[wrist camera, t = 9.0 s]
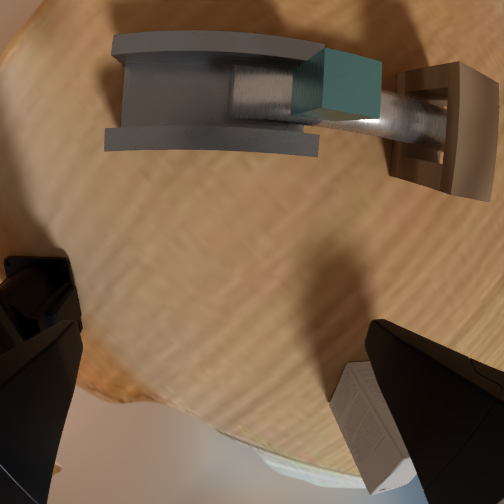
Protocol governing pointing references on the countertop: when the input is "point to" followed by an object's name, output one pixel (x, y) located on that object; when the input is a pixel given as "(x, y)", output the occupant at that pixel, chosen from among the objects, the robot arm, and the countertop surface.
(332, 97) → the rod
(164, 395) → the countertop surface
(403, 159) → the socket block
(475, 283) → the countertop surface
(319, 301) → the countertop surface
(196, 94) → the channel
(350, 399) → the skincare box
